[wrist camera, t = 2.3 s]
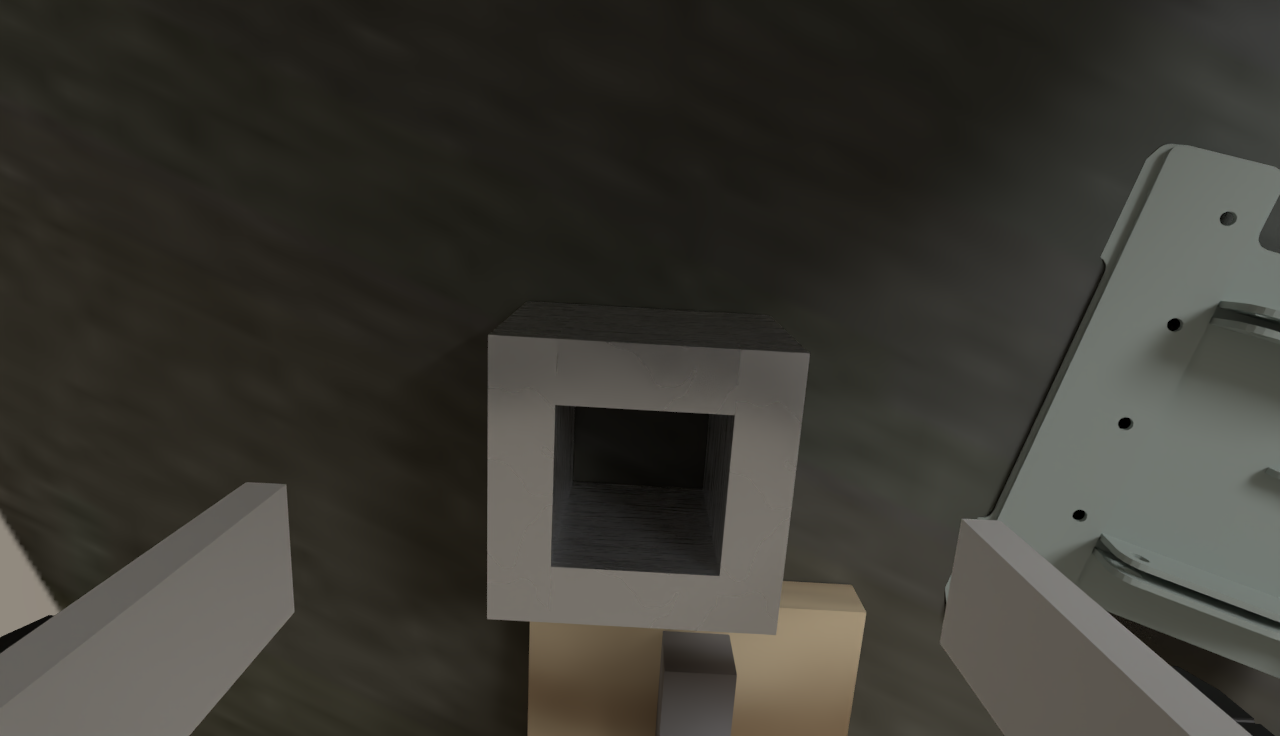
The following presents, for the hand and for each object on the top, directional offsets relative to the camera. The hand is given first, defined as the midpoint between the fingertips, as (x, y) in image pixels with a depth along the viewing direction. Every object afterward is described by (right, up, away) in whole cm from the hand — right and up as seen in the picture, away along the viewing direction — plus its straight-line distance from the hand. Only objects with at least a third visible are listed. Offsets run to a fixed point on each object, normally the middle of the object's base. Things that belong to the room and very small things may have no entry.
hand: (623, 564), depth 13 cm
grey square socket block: (0, +2, +7) cm, 8 cm away
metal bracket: (+18, +1, +8) cm, 20 cm away
